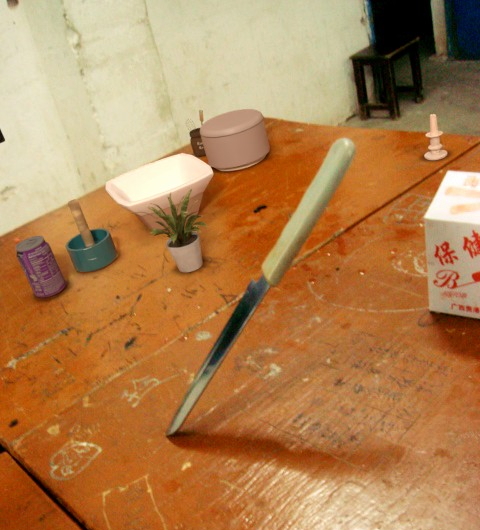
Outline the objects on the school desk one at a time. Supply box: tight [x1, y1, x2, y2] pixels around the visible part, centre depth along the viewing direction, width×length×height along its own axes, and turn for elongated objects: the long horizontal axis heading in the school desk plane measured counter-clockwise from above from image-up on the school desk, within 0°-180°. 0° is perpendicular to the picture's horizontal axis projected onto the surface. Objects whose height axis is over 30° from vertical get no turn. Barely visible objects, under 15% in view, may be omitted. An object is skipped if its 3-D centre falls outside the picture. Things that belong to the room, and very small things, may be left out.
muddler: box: [67, 198, 95, 248], centre depth 142 cm, size 4×4×15 cm
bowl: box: [104, 152, 214, 231], centre depth 155 cm, size 24×25×11 cm
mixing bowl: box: [64, 227, 119, 273], centre depth 144 cm, size 10×10×6 cm
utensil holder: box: [185, 109, 206, 157], centre depth 191 cm, size 6×6×12 cm
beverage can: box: [14, 235, 67, 298], centre depth 136 cm, size 7×7×12 cm
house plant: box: [130, 189, 208, 273], centre depth 128 cm, size 14×14×16 cm
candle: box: [423, 113, 448, 161], centre depth 148 cm, size 5×5×10 cm
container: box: [199, 108, 271, 172], centre depth 177 cm, size 18×18×12 cm
